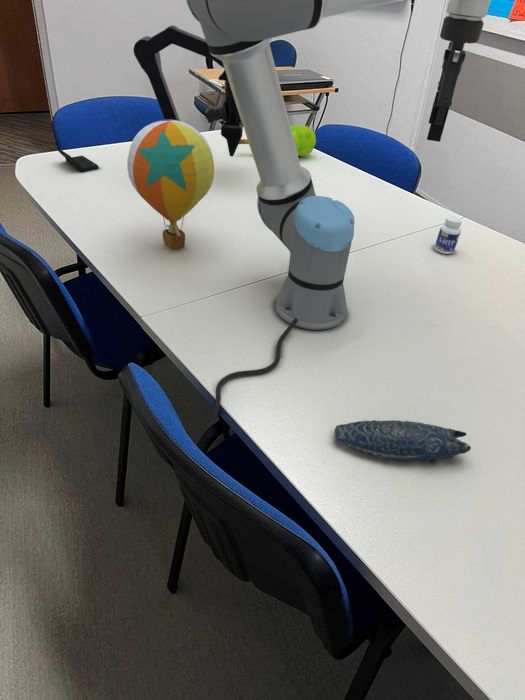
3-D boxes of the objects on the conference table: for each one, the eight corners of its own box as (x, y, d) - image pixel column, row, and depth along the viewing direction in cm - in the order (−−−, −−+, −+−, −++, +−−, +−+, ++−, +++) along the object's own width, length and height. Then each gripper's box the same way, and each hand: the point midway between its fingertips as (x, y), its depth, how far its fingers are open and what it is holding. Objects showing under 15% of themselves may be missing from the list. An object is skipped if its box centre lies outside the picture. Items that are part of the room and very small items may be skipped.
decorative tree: (231, 119, 188) (311, 119, 193) (231, 149, 194) (308, 148, 199) (238, 134, 174) (324, 133, 179) (238, 165, 181) (321, 163, 186)
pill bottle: (433, 251, 139) (442, 220, 133) (435, 243, 143) (444, 213, 137) (453, 256, 138) (464, 225, 132) (454, 247, 142) (465, 217, 136)
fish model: (468, 474, 80) (479, 453, 77) (333, 457, 81) (338, 435, 78) (460, 442, 85) (469, 421, 82) (333, 426, 86) (337, 404, 83)
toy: (119, 241, 130) (106, 114, 112) (184, 223, 141) (182, 104, 122) (161, 274, 119) (154, 140, 101) (229, 252, 130) (233, 127, 111)
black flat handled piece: (103, 161, 168) (81, 139, 159) (91, 179, 166) (69, 158, 158) (82, 157, 174) (60, 135, 166) (70, 174, 173) (48, 153, 164)
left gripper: (210, 87, 160) (209, 140, 169) (203, 103, 145) (203, 159, 155) (246, 90, 160) (243, 142, 170) (243, 106, 145) (240, 162, 155)
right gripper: (445, 9, 110) (418, 115, 123) (444, 21, 91) (413, 145, 104) (481, 13, 109) (451, 120, 122) (488, 26, 90) (451, 151, 103)
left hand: (232, 151), depth 162 cm, fingers open, 9 cm apart
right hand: (433, 131), depth 113 cm, fingers open, 13 cm apart
